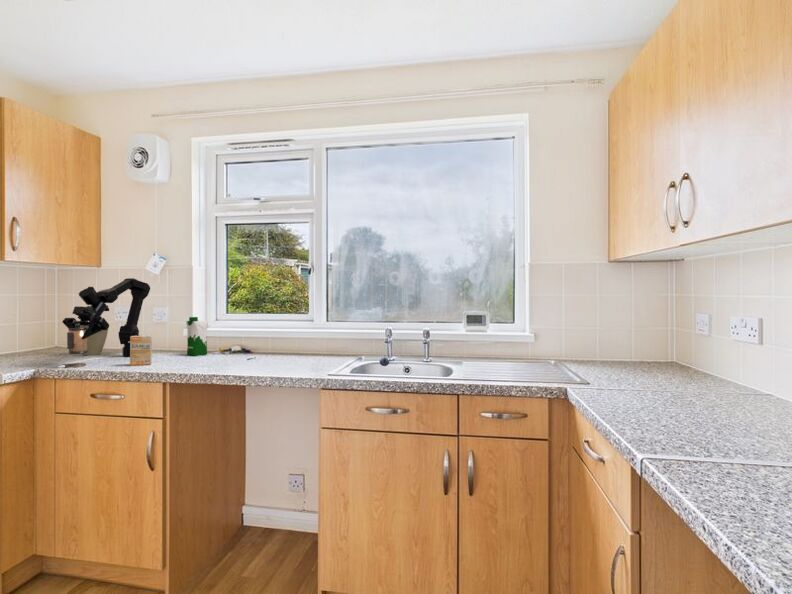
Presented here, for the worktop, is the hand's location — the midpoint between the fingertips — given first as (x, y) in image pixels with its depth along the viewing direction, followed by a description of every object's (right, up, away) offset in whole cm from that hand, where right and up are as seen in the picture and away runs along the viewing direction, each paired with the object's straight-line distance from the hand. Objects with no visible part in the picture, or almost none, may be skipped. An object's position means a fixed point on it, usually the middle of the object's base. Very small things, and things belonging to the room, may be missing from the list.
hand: (75, 338), depth 191 cm
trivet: (-3, -12, +2) cm, 13 cm away
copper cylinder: (0, -7, +1) cm, 7 cm away
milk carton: (+36, -13, +38) cm, 54 cm away
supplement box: (+26, -13, +5) cm, 29 cm away
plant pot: (-20, -13, +40) cm, 46 cm away
